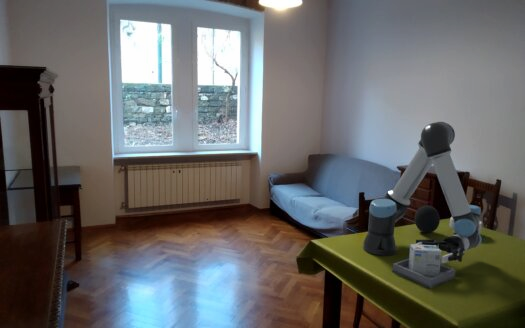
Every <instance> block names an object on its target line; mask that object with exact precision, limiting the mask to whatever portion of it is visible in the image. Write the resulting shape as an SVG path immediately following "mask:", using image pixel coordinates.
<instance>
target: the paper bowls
mask: <svg viewBox="0 0 525 328" xmlns="http://www.w3.org/2000/svg"><path fill="white" fill-rule="evenodd" d="M454 224H455V223H454V220H453V217H452V216H451V217H450V219H449V227H450V228H451V229H452V230H453V232H454V233H455V235H456V234H457V233H456V232H455V229H454ZM482 227H483V222H482V221H481V220H480V223H479V229H478V230H479V231H478V232H479V233H481V232H482Z"/></svg>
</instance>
